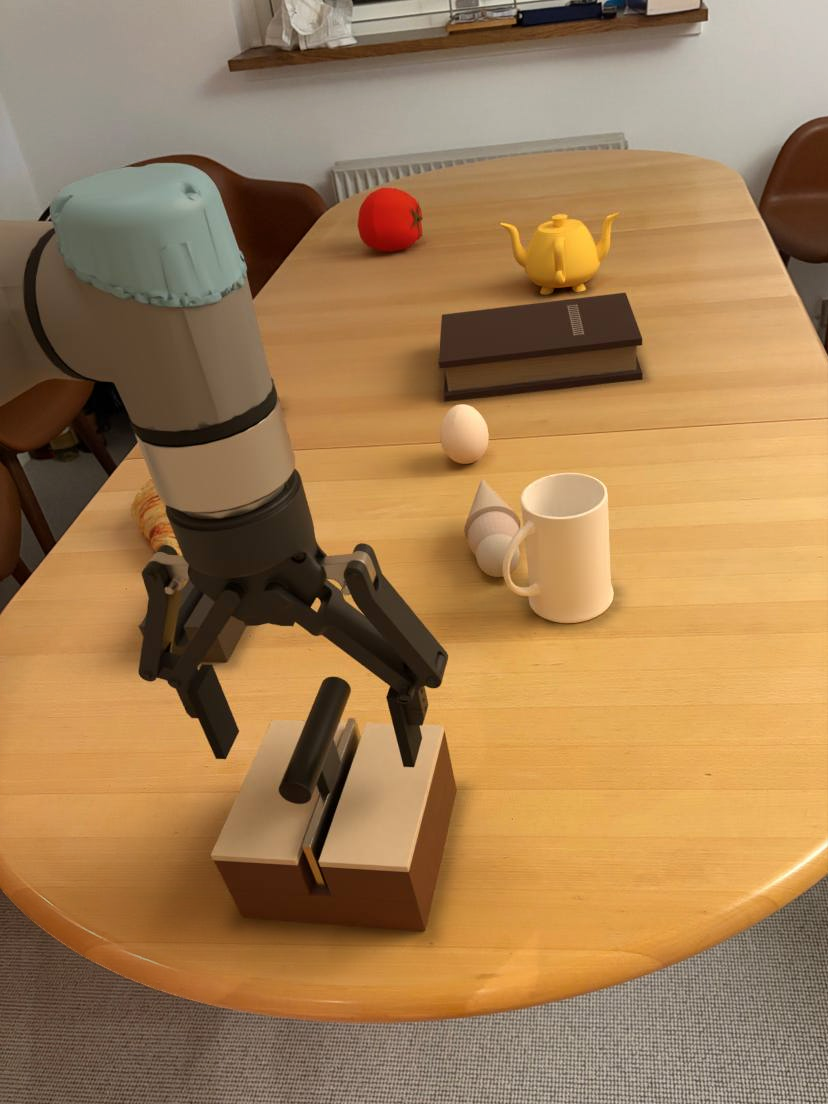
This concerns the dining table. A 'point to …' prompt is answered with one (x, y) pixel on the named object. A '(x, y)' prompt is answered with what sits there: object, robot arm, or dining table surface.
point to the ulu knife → (321, 766)
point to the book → (539, 347)
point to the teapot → (561, 253)
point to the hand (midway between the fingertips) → (318, 749)
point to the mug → (565, 547)
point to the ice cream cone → (491, 531)
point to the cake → (342, 834)
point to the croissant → (153, 518)
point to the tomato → (389, 220)
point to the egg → (464, 434)
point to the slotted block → (189, 620)
